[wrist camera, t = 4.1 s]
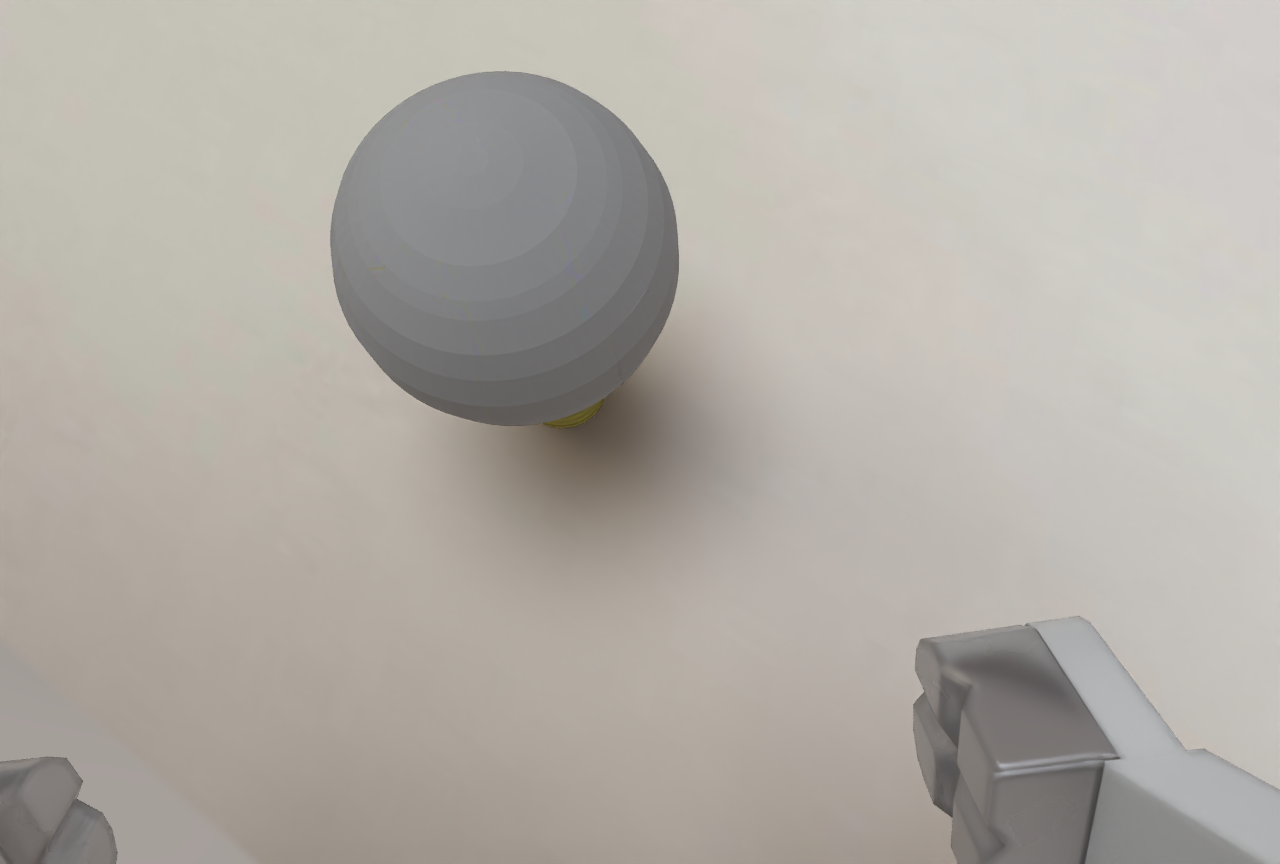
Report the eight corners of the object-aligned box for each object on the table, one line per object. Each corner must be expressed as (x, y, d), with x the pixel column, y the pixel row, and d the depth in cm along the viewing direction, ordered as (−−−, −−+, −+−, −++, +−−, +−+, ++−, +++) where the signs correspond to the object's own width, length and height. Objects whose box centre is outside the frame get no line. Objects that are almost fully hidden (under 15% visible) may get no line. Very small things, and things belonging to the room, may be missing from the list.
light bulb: (530, 248, 23) (423, -71, 13) (720, 354, 22) (755, 94, 12) (404, 430, 22) (184, 226, 12) (598, 550, 21) (530, 434, 11)
